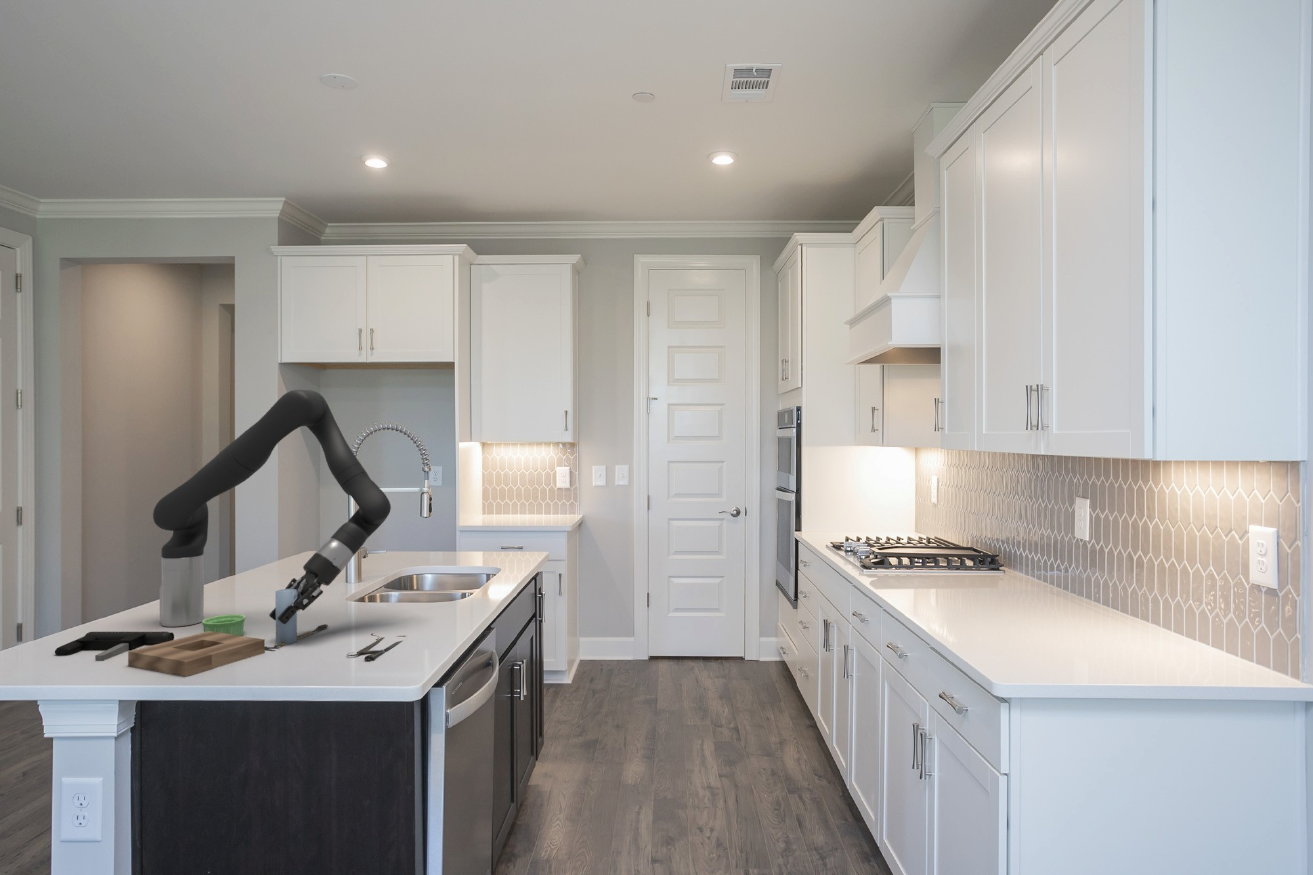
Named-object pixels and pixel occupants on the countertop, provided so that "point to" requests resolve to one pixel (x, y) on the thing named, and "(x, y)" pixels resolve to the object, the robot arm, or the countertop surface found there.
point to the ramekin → (225, 624)
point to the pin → (288, 630)
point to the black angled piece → (113, 643)
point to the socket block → (196, 653)
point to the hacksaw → (376, 652)
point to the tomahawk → (298, 637)
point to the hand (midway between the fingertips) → (276, 619)
